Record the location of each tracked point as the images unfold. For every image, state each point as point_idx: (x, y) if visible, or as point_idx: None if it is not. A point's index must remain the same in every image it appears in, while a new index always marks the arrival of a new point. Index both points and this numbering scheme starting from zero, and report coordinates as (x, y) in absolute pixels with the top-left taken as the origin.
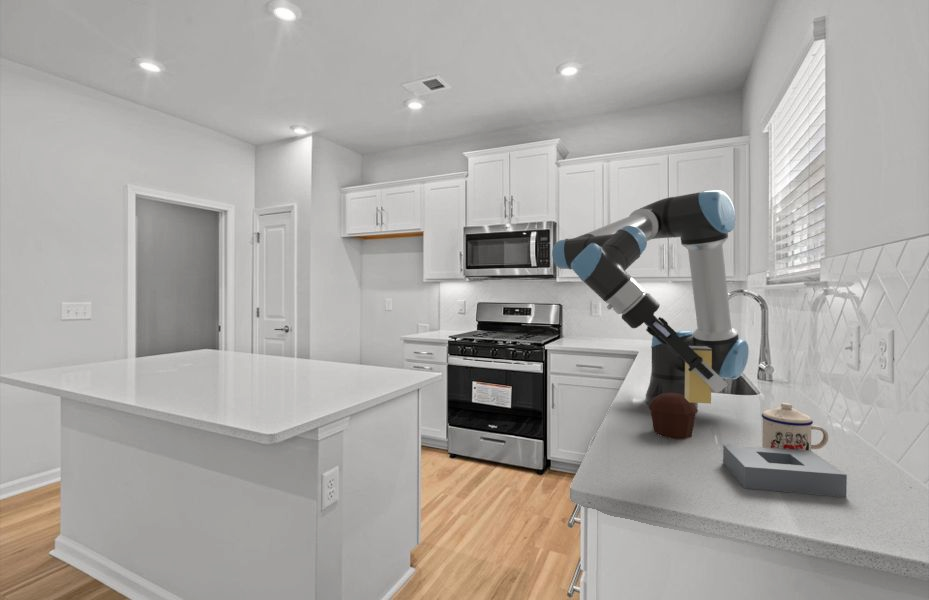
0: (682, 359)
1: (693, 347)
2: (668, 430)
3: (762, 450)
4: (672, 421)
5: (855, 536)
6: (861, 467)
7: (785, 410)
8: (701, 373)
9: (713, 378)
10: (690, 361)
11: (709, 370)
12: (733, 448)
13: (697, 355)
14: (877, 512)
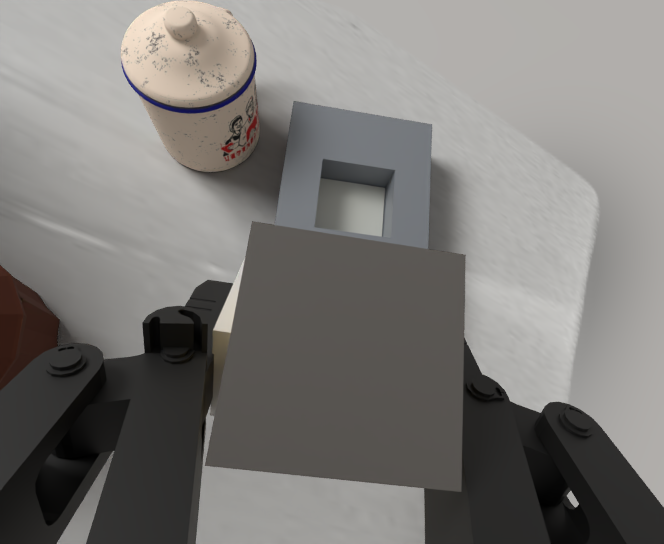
0: (201, 454)
1: (386, 419)
2: None
3: (305, 207)
4: (22, 363)
5: (557, 229)
6: (267, 33)
7: (203, 45)
8: None
9: None
10: (584, 518)
11: None
12: None
13: (624, 466)
14: (466, 143)
